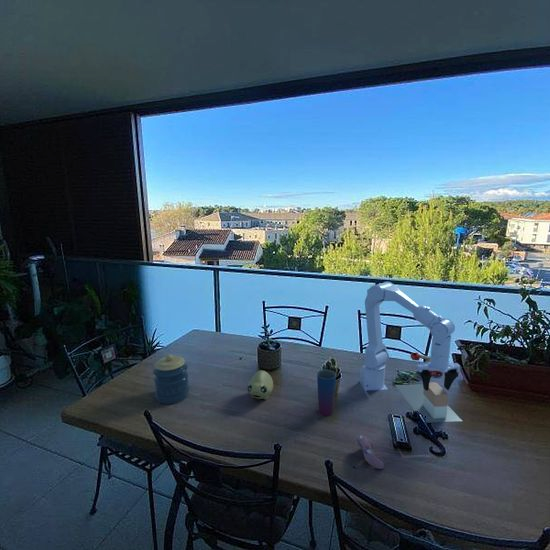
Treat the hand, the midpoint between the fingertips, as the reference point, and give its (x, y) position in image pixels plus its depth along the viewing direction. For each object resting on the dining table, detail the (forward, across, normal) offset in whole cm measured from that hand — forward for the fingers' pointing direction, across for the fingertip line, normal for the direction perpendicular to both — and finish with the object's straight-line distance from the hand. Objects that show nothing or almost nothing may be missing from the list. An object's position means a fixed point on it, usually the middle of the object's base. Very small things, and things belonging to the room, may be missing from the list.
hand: (436, 388), depth 116 cm
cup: (+10, -39, +3) cm, 40 cm away
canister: (+10, -98, +17) cm, 100 cm away
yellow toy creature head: (+10, -63, +13) cm, 65 cm away
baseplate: (+10, 0, +6) cm, 11 cm away
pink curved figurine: (+10, -31, -20) cm, 38 cm away
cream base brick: (+9, 0, 0) cm, 9 cm away
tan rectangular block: (+4, 0, 0) cm, 5 cm away
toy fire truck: (+10, +11, +27) cm, 31 cm away
